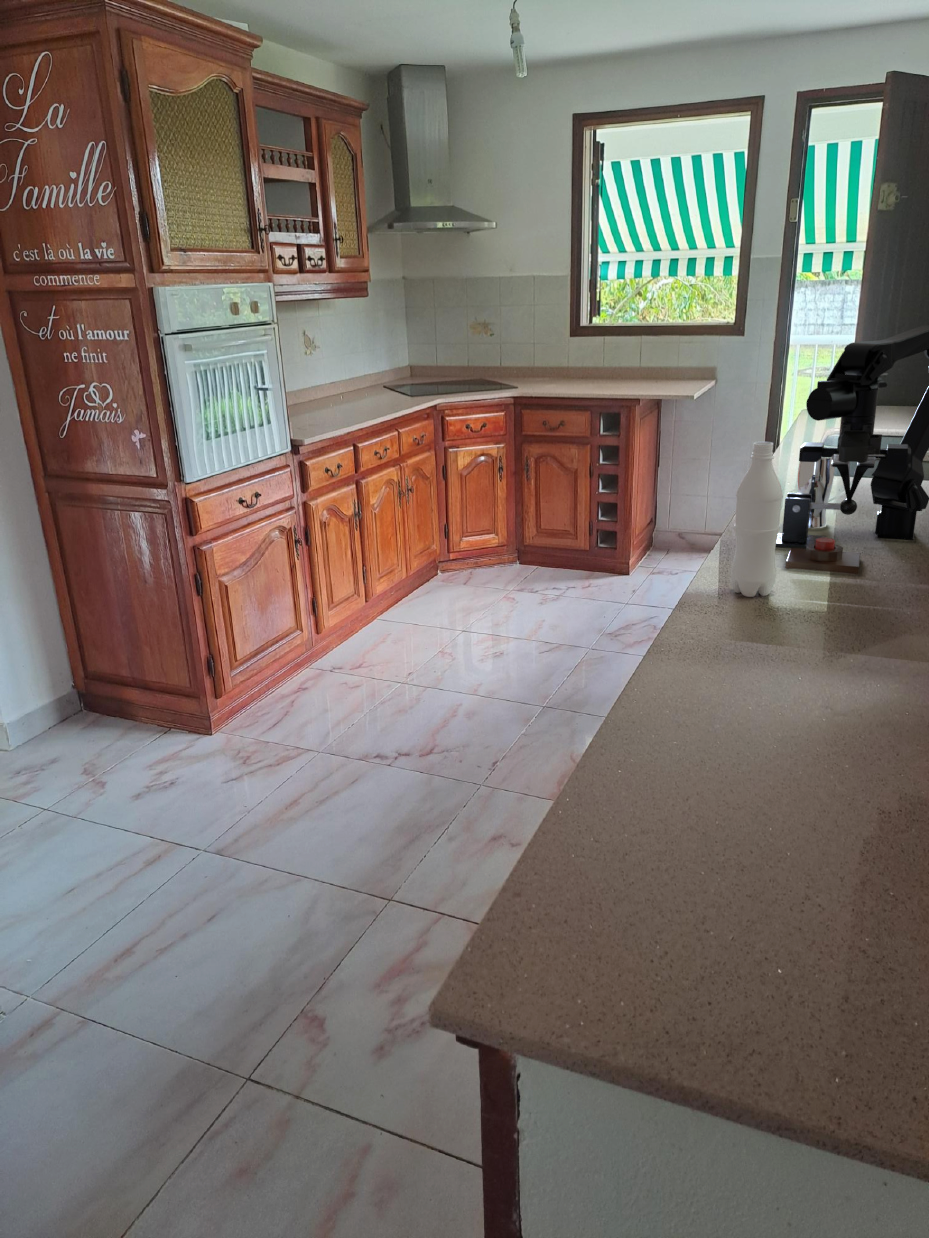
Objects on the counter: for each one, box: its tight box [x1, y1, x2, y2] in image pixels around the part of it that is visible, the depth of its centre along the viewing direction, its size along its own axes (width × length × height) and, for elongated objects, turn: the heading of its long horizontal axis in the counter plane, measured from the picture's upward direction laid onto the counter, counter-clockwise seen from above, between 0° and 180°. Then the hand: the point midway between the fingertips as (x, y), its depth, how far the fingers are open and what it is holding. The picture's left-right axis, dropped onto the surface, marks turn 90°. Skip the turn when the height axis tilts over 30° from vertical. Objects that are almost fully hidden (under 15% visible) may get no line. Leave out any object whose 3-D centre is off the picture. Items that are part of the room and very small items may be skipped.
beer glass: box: [796, 457, 836, 530], centre depth 182 cm, size 7×7×15 cm
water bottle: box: [730, 441, 784, 598], centre depth 144 cm, size 7×7×25 cm
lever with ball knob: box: [809, 498, 858, 516], centre depth 168 cm, size 12×3×3 cm, turn 66°
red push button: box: [815, 537, 836, 550], centre depth 158 cm, size 3×3×2 cm
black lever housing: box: [775, 492, 827, 549], centre depth 171 cm, size 11×8×10 cm
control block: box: [785, 543, 861, 574], centre depth 159 cm, size 12×9×4 cm
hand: (849, 498), depth 166 cm, fingers closed
